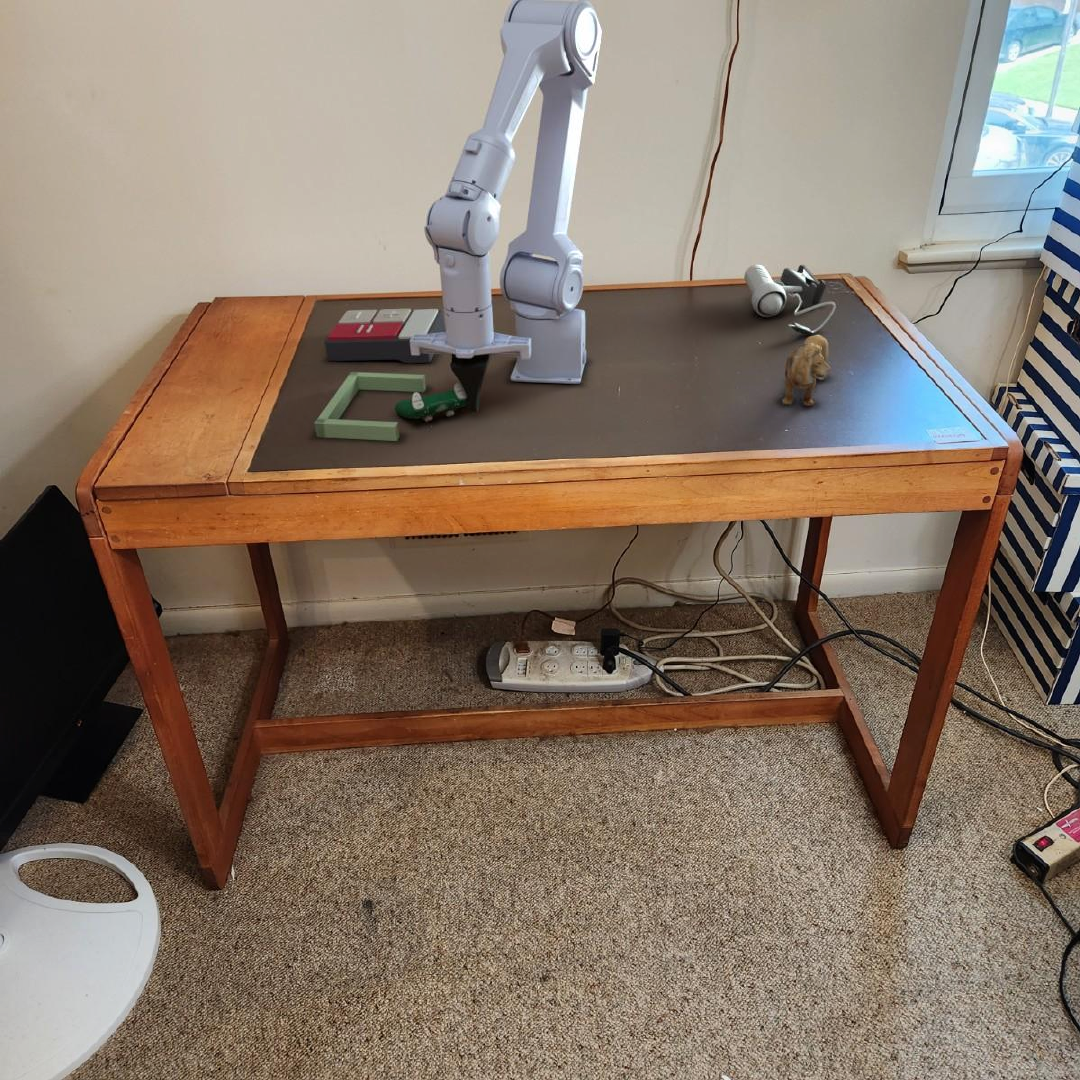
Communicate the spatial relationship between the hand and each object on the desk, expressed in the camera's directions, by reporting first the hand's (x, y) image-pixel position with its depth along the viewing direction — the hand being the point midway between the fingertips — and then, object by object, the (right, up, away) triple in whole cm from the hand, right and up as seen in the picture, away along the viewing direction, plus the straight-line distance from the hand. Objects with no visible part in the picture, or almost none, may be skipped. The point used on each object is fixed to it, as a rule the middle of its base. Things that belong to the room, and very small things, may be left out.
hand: (475, 408), depth 113 cm
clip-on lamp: (+47, +18, +25) cm, 56 cm away
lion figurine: (+43, +2, +3) cm, 43 cm away
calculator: (-14, +12, +19) cm, 26 cm away
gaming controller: (-5, -1, +1) cm, 5 cm away
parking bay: (-13, 0, +2) cm, 13 cm away
